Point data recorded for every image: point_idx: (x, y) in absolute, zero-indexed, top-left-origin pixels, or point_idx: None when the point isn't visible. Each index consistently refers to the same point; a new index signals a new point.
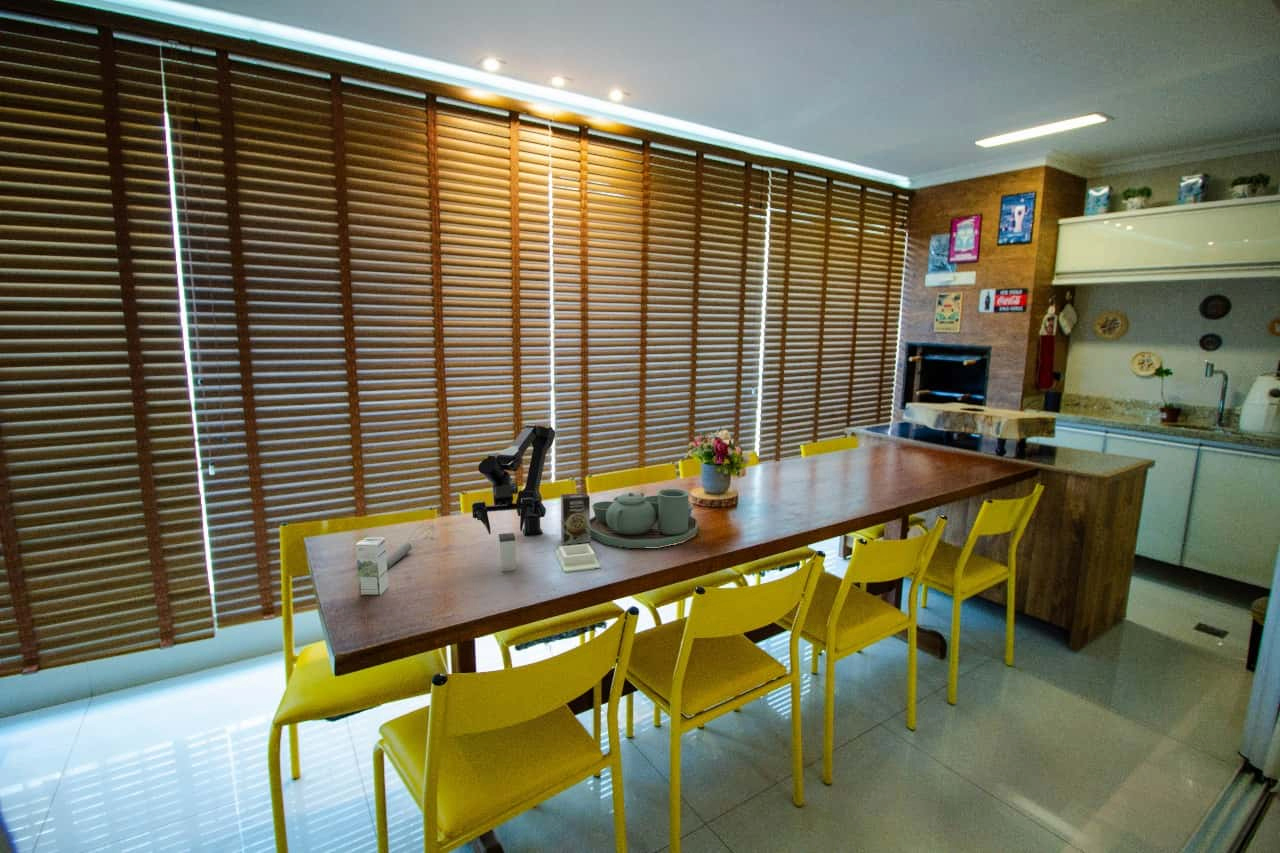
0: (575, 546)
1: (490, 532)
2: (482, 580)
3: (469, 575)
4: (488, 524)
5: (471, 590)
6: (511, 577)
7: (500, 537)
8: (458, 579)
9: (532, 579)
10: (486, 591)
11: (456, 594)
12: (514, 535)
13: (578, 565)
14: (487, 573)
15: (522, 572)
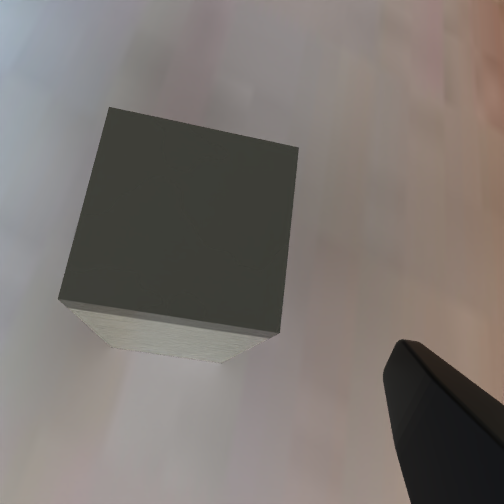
0: None
1: (400, 342)
2: (354, 183)
3: (417, 287)
4: (496, 425)
5: (412, 97)
6: None
7: (279, 187)
8: (473, 258)
9: (93, 61)
10: (348, 53)
11: (474, 92)
12: (92, 176)
13: None
14: (316, 268)
15: None
